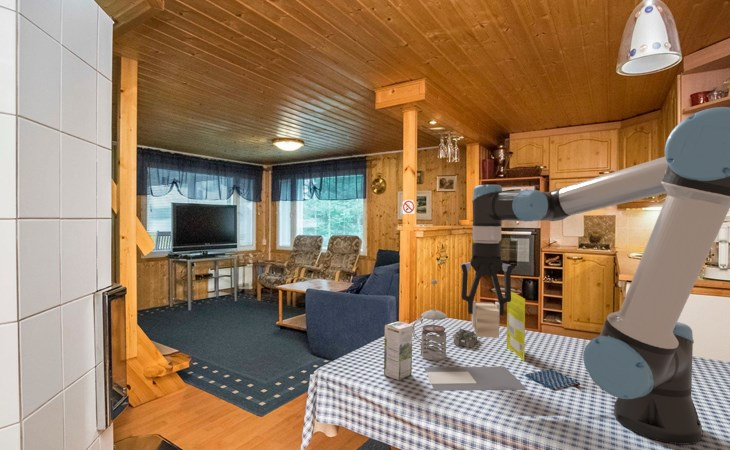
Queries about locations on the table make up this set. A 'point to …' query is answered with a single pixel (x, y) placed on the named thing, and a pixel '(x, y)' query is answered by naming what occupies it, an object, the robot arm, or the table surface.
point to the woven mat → (552, 379)
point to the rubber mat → (472, 378)
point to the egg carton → (465, 338)
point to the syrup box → (398, 350)
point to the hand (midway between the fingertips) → (485, 326)
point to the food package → (516, 325)
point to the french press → (433, 351)
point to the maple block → (487, 320)
